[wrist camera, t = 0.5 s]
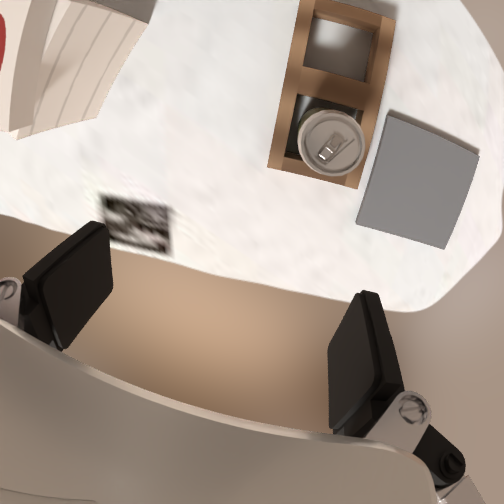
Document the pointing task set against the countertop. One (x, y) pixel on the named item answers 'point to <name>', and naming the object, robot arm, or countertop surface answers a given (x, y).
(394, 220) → the rubber mat
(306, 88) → the can holder
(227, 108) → the countertop surface
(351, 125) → the beer can
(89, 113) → the pizza boxes
